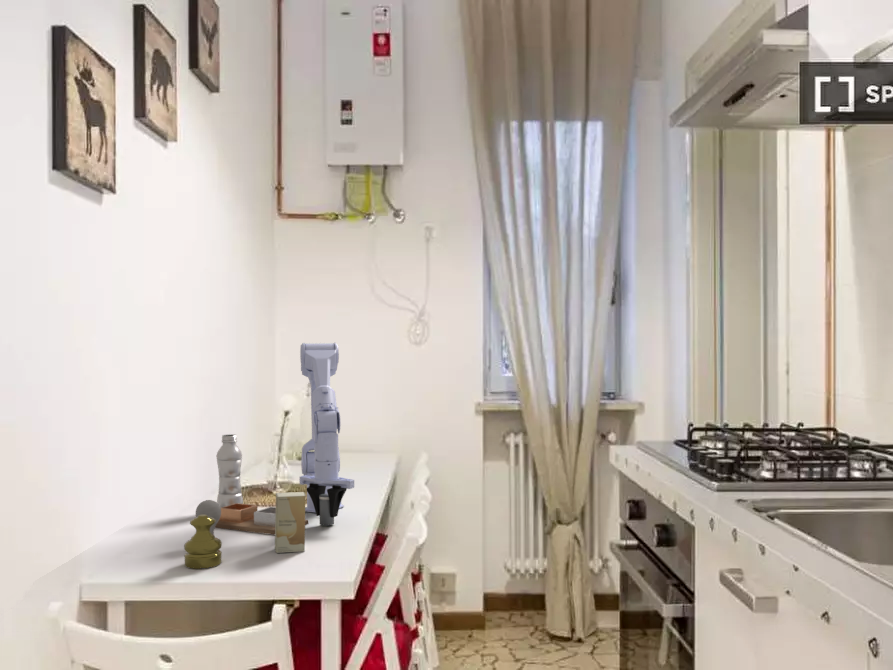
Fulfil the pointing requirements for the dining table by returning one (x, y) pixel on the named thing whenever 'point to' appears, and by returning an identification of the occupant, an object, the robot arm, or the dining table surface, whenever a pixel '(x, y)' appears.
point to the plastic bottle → (229, 472)
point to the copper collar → (238, 512)
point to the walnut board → (248, 526)
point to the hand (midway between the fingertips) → (326, 515)
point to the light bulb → (209, 511)
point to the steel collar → (265, 517)
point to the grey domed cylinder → (325, 511)
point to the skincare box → (290, 522)
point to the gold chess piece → (202, 545)
